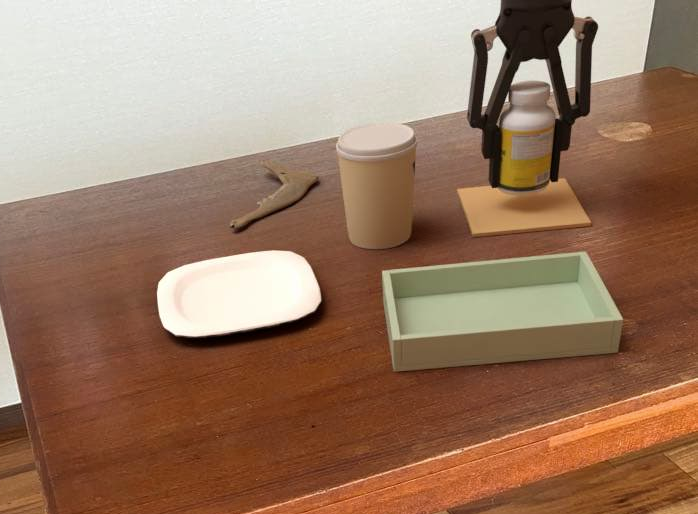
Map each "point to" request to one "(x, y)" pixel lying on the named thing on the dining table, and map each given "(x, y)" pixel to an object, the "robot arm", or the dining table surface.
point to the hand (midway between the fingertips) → (522, 180)
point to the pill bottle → (526, 139)
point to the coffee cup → (378, 183)
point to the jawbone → (280, 192)
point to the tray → (498, 312)
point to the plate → (237, 294)
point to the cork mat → (521, 210)
